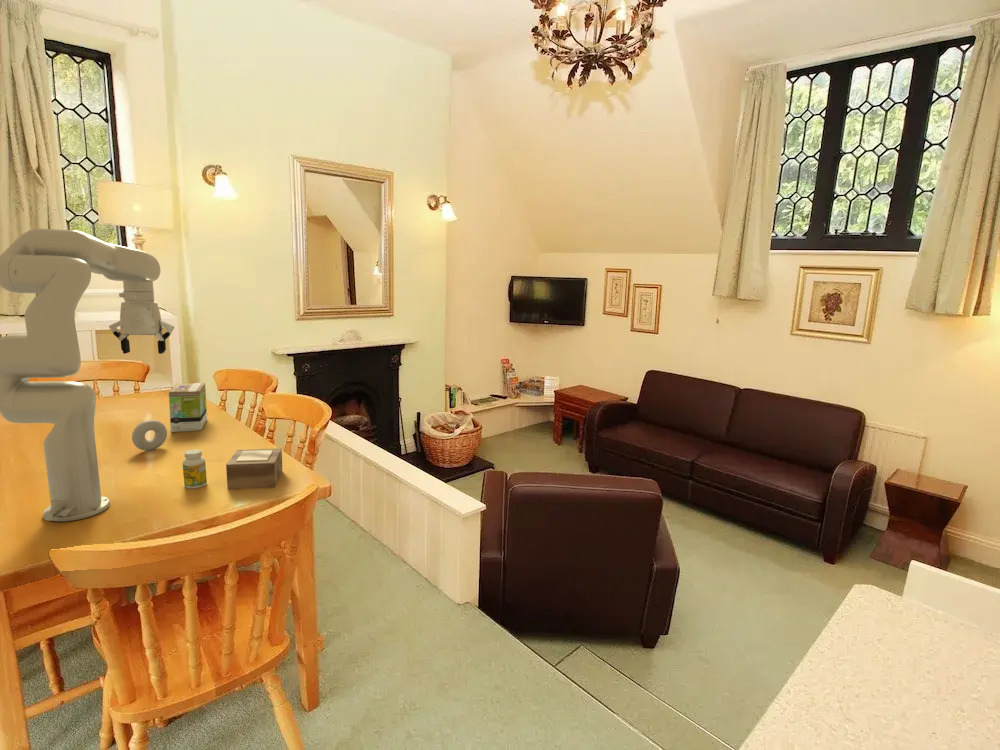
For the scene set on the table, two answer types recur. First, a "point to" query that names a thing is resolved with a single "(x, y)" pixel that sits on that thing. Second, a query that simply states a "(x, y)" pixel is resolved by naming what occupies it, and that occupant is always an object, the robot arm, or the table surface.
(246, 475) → the walnut block
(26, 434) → the table surface
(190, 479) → the supplement bottle
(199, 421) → the tea box
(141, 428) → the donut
